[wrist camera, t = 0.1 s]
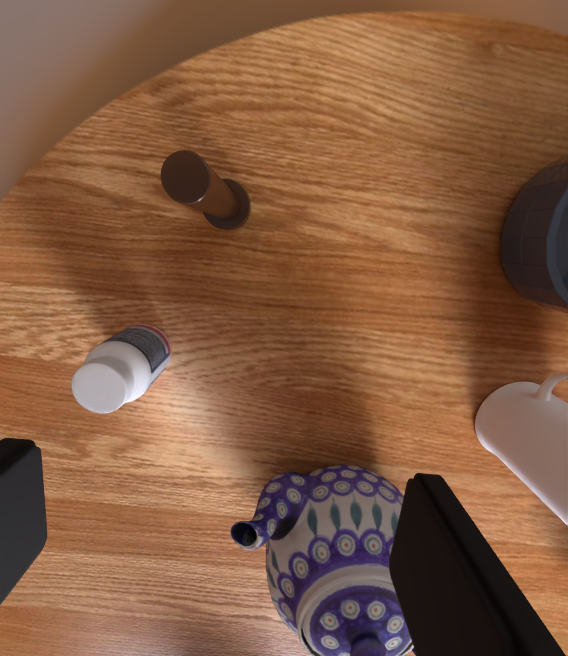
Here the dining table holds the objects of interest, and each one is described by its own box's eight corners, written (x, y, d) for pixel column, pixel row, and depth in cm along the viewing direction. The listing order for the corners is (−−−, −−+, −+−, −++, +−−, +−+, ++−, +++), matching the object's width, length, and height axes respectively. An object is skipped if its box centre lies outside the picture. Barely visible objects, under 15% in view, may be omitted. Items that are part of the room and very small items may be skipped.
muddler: (206, 178, 29) (143, 125, 16) (252, 184, 29) (230, 136, 16) (203, 227, 30) (143, 216, 17) (248, 232, 30) (224, 225, 17)
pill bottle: (125, 315, 32) (68, 343, 23) (178, 333, 33) (143, 366, 24) (113, 365, 33) (55, 409, 25) (165, 381, 34) (126, 429, 25)
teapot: (460, 524, 39) (569, 695, 24) (363, 601, 41) (409, 797, 27) (301, 386, 34) (318, 495, 20) (203, 483, 37) (154, 641, 22)
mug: (486, 349, 33) (597, 407, 22) (572, 351, 34) (726, 409, 22) (468, 454, 36) (557, 554, 25) (546, 455, 37) (671, 555, 25)
